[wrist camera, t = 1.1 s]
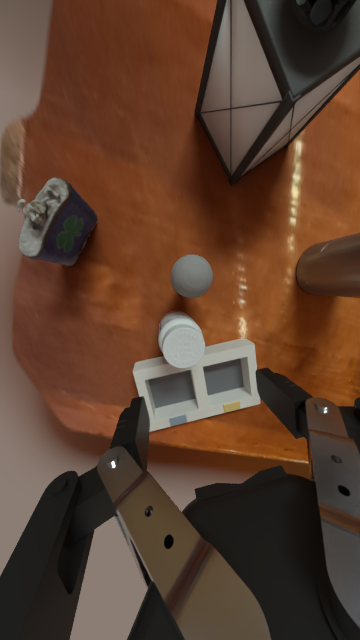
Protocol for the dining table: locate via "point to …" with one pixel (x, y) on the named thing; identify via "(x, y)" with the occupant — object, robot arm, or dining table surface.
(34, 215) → the flask
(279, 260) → the dining table surface
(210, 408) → the socket block
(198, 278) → the light bulb
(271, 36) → the lantern
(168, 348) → the pill bottle
